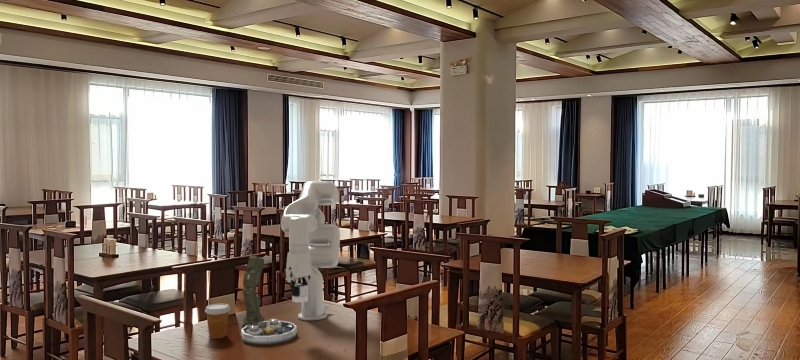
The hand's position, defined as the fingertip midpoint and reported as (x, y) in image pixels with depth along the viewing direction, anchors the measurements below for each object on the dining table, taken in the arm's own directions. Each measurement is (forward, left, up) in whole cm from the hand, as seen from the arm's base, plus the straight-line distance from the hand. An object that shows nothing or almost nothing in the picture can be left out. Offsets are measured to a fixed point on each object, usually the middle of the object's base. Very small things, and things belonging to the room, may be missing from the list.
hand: (299, 294), depth 230 cm
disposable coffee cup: (+17, -29, -18) cm, 38 cm away
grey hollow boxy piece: (0, 0, -3) cm, 3 cm away
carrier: (+6, -12, -17) cm, 22 cm away
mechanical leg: (-2, -30, -18) cm, 34 cm away
